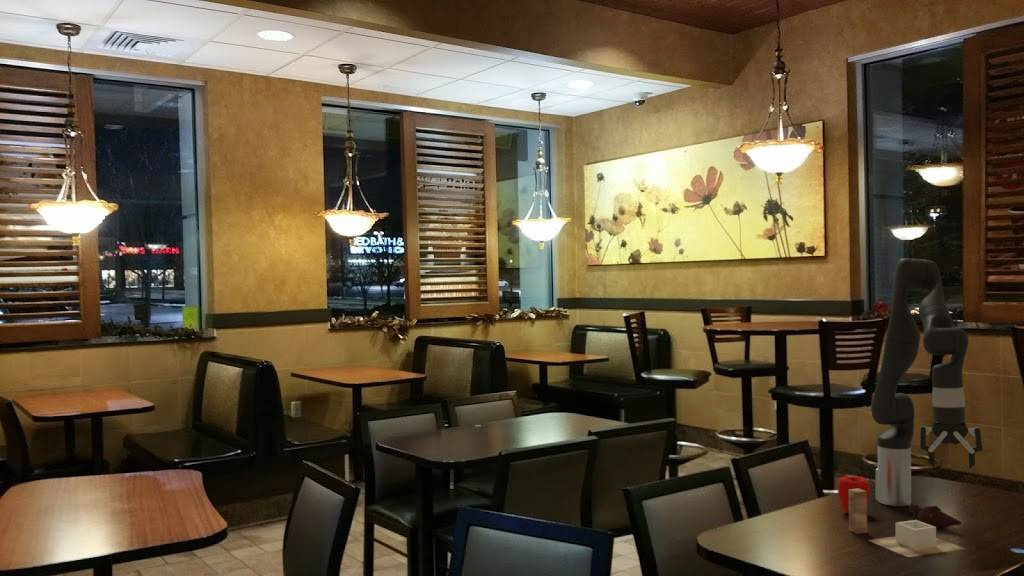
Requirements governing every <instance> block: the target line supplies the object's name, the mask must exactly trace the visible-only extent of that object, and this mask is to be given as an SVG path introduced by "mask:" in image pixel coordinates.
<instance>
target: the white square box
mask: <svg viewBox="0 0 1024 576" xmlns="http://www.w3.org/2000/svg"><path fill="white" fill-rule="evenodd" d="M894 529H895V536H896V542H897V543H899V544H902V545H904V546H907V547H909V548H912V549H914V550H917V549H925V548H932V547H936V538H937V528H936V527H934V526H931V525H929V524H926V523H923V522H920V521H918V520H912V521H908V520H906V521H898V522H895V527H894Z"/></svg>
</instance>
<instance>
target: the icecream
mask: <svg viewBox="0 0 1024 576" xmlns="http://www.w3.org/2000/svg"><path fill="white" fill-rule="evenodd" d="M908 511H910V512H911V513H913V514H915V515H917V517H912V518H909V519H908V520H907V521H912V520H918V521H920V522H923V523H926V524H929V525H931V526H934V527H936V529H943V528H947V527H953V526H960V525H962V521H960V520H959V519H957V518H954V517H953V516H951V515H949V514H947V513H945V512H944V511H942V509H940V507H938V506H937V505H934V506H933V505H931V506H924V507H922V508H921V507H920V506H919V505H918V504H910V505H908Z"/></svg>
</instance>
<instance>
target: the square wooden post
mask: <svg viewBox="0 0 1024 576" xmlns="http://www.w3.org/2000/svg"><path fill="white" fill-rule="evenodd" d="M848 531H849V532H852V533H855V534H858V535H859V534H864V533H865V534H866V533H868V504H867V491H864V490H861V489H859V488H858V489H849V514H848Z"/></svg>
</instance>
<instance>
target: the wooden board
mask: <svg viewBox="0 0 1024 576" xmlns="http://www.w3.org/2000/svg"><path fill="white" fill-rule="evenodd" d="M867 541H868V542H870V543H873V544H875V545H878V546H880V547H882V548H885V549H887V550H889V551H892V552H895V553H896V554H899V555H902V556H904V557H906V558H912V557H919V556H926V555H927V556H928V555H934V554H941V553H947V552H956V551H961V550H966V548H965V547H962V546H961V545H960V546H959V545H956V544H954V543H951V542H948V541H946V540H944V539H942V538H941V539H940V538H938V537H936V547H932V548H925V549H917V550H914V549H912V548H909V547H907V546H904V545H902V544H899V543H897V542H896V536H889V537H888V536H887V537H881V538H873V539H867Z"/></svg>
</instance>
